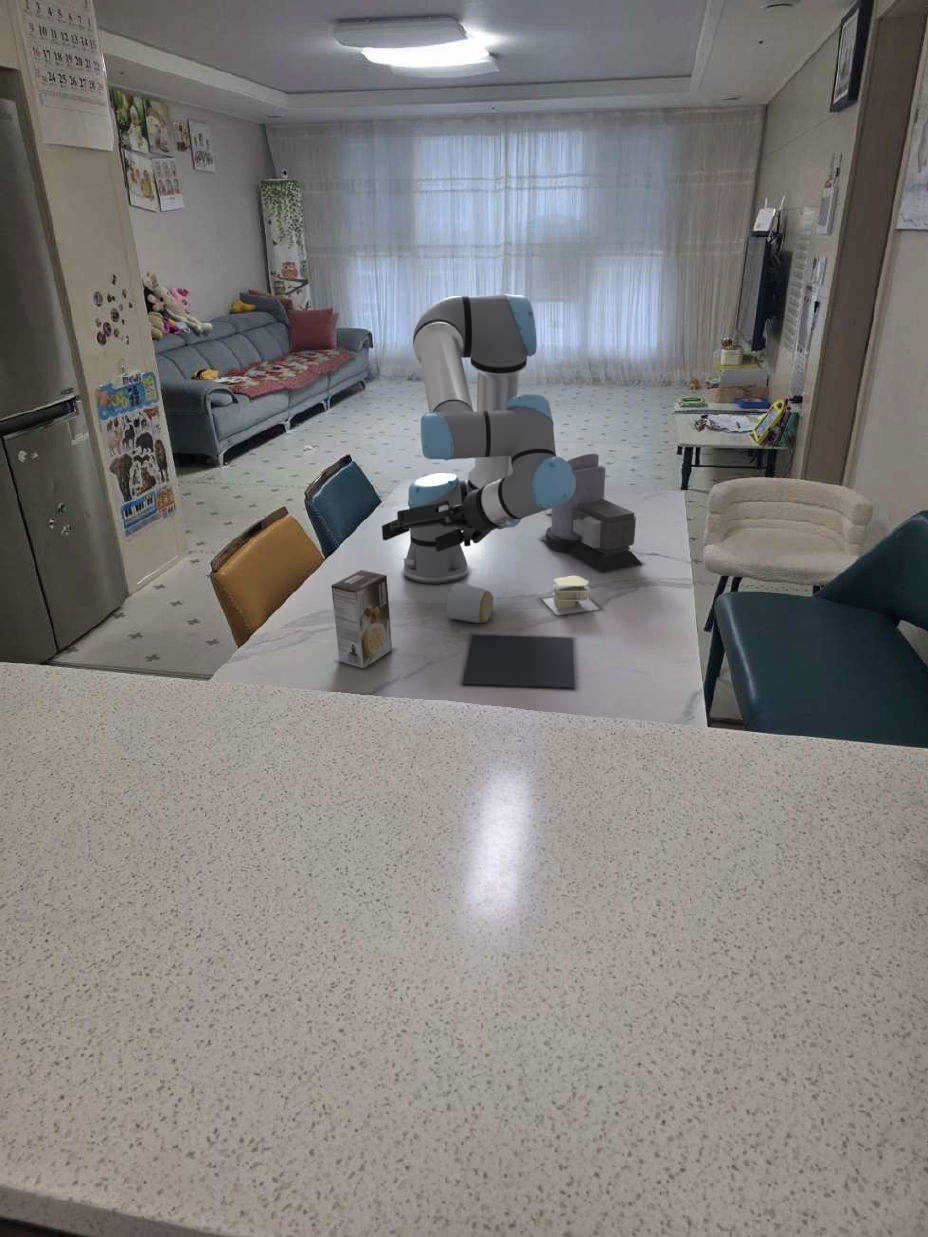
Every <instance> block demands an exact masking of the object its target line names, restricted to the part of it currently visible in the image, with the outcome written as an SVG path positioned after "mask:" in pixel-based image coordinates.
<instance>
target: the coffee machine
mask: <svg viewBox="0 0 928 1237" xmlns="http://www.w3.org/2000/svg"><path fill="white" fill-rule="evenodd" d="M599 457H600V456H599V454H598V453H587V454H582V455H580V456H576V457H574V458H571V459H569V460H566V461H567V462H568V464H569V465H570V466H571V468H572V474H573V475H574V476H575V481H576V488H575V492H574V494H573V496H572V497H571V498H570V499H569V500H567V501H565V502H563V503H561V504H559V505H557V506H555V507H554V508H552V514H551V521H550V522H551V523H550V524H551V525H550V526H549V527H548V528H546V530H545V536H543V537H542V538H541V539H540V541H542V542H544V543H545V545H546V546H547V547H548V548H549V549H551V550H553V551H556V552H559V553H560V552H561V553H566V554H569V555H571V556H572V557H574V558H576V559H577V560H579V561H581V562H583V564H584V563H585V564H586V565H587V566H589V567H591V568H593V569H595V570H596V571H598V572H599V573H607V572H611V571H617V570H621V569H627V568H630V567H634V566H639V565H643V563H642V562H641V561H640V559H639V558H637V556H636V555H635V554H634V553H633V552H632V551H631V547H630V546H633V545H634V544H635V538H636V522H637V516H635V512H634V511H631V510H629V509H627V508H624V507H622V506H620V505H618V504H616V503H613V502H612V501H609V500H607V499H605V484H606V467H605V466H603V465H599V460H600V459H599Z"/></svg>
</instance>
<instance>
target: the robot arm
mask: <svg viewBox="0 0 928 1237" xmlns="http://www.w3.org/2000/svg"><path fill="white" fill-rule="evenodd" d="M532 306H533V305H532V303H531V301H530V300H529V298H528V297H527V296H526V295H522V294H508V293H505V294H485V295H453V296H449V297H445V298H443V299H441V300H439V301H437V302H436V303H434V304H433V305H431V306H430V307H429V308H428V309H427V310H426V311H425V312H424V313H423V314H422V315H421V317H420V319H419V320H418V321H417V323H416V325H415V328H414V330H413V336H412V346H413V352H414V355H415V357H416V359H417V360H418V362H419V363H420V365H421V370H422V375H423V382H424V390H425V394H426V400H427V402H426V403H427V407H428V413H425V414H423V415H422V416H421V417H420V442H421V452H422V455H423V457H424V458H426V459H428V460H444V461H450V460H462V459H474V467H472V468H471V469H469V472H468V475H467V479H466V480H460V479H459V477H458V475H456V474H455V473H450V472H449V473H446V472H440V473H433V474H428V475H424V476H421V477H419V478H417V479H415V480H414V481H412V482H411V484H410V485H409V486H408V500H407V506H408V508H406V509H401V510H398V511H397V512H396V517H397V519H395V520H392V521H390V522H387V523H384V524H383V525H381V534H382V541H389V540H391V539H394V538H396V537H398V536H400V535H403V534H405V533H408V532H409V536H410V542H409V547H408V551H407V554H406V557H405V558H403V564H404V566H403V572H404V576H405V577H406V578H407V579H409V580H410V581H413V582H416V583H421V584H426V585H436V584H437V585H440V584H448V583H453V582H456V581H459V580H461V579H463V578H465V576H467V575H468V572H469V571H468V561H467V559H466V555H465V554H464V550H463V548H462V545H461V544H463V545H464V547H470V546H471V541H472V543H473V544H478V543H480V542H481V541H482V540H484V539H485V538H486V536H488V535H489V534H490V533H491V532H492V531H494V530H503V529H510V528H511V529H512V528H515V527H517V526H518V525H519V524H520V523H521V520H522V519H524V518H527V517H530V516H533V515H536V514H539V513H542V512H544V511H546V510H549V509H552V508H554V507H555V506H557V505H559V504H561V503H563V502H565V501H567V500H569V499H570V498H571V497H572V496H573V494H574V492H575V488H576V481H575V476H574V475H573V474H572V468H571V466H570V465H569V464H568V462H567V461H568V460H566V459H564V458H563V457H560V456H557V452H556V442H555V431H554V424H555V423H554V420H553V415H552V409H551V404H550V402H549V400H548V399H547V398H546V397H545V396H544V395H541V394H539V393H531V392H529V393H523V394H522V395H518V389H519V376H520V375H519V374H520V373H521V372H522V371H523V370H525V368H526V367H527V362H528V357H532V356H535V355H536V353H537V347H538V346H537V344H538V343H537V342H538V341H537V329H536V320H535V314H534V310H533V307H532ZM464 358H465V359H466V358H467V359H468V358H470V365H471V367H472V368H473V369H475V370H476V371H477V384H476V411H474V407H473V402H472V398H471V394H470V390H469V385H468V381H467V377H466V373H465V368H464V364H463V359H464Z"/></svg>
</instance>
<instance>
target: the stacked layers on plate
mask: <svg viewBox="0 0 928 1237" xmlns="http://www.w3.org/2000/svg"><path fill="white" fill-rule="evenodd" d="M552 580H553V581H554V582H555V583H554V584H552V587H553V588H554V592H552V594H551V595H552V596H553V597H549V598H542V599H541V600H542V601H543V602H544V603H545V605H546V606H548V608H549V609H550V610H551V611H552V612H553V614H555V615H556V616H562V615H568V614H577V613H584V612H591V611H599V610H600V608H599V607H598V606H597V605H596V604H595V603H594V602H593V601H592V599H590V598H589V597H590V596H589V595H588V590H589V589H590V587H589V586H588V585H589V583H590V581H589V580H588V579H585V578H583V577H581V576H579V575H568V576H563V577H557V578H553V579H552Z"/></svg>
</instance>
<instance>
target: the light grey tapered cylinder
mask: <svg viewBox="0 0 928 1237" xmlns="http://www.w3.org/2000/svg"><path fill="white" fill-rule="evenodd" d="M446 600H447V601H446V614H447V617H448V618H449V619H451V620H456V621H461V622H462V621H463V622H468V623H475V624H484V623H487V621H488V620H489V619H490V617H491V615H492V613H493V608H494V595H493V593H492V592H491V591H490V590H487V589H485V588H481V587H476V586H472V585H469V584H465V583H459V582H455V583H454V584H453V585H452V587H451V588H450V590H449V592H448V596H447V599H446Z"/></svg>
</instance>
